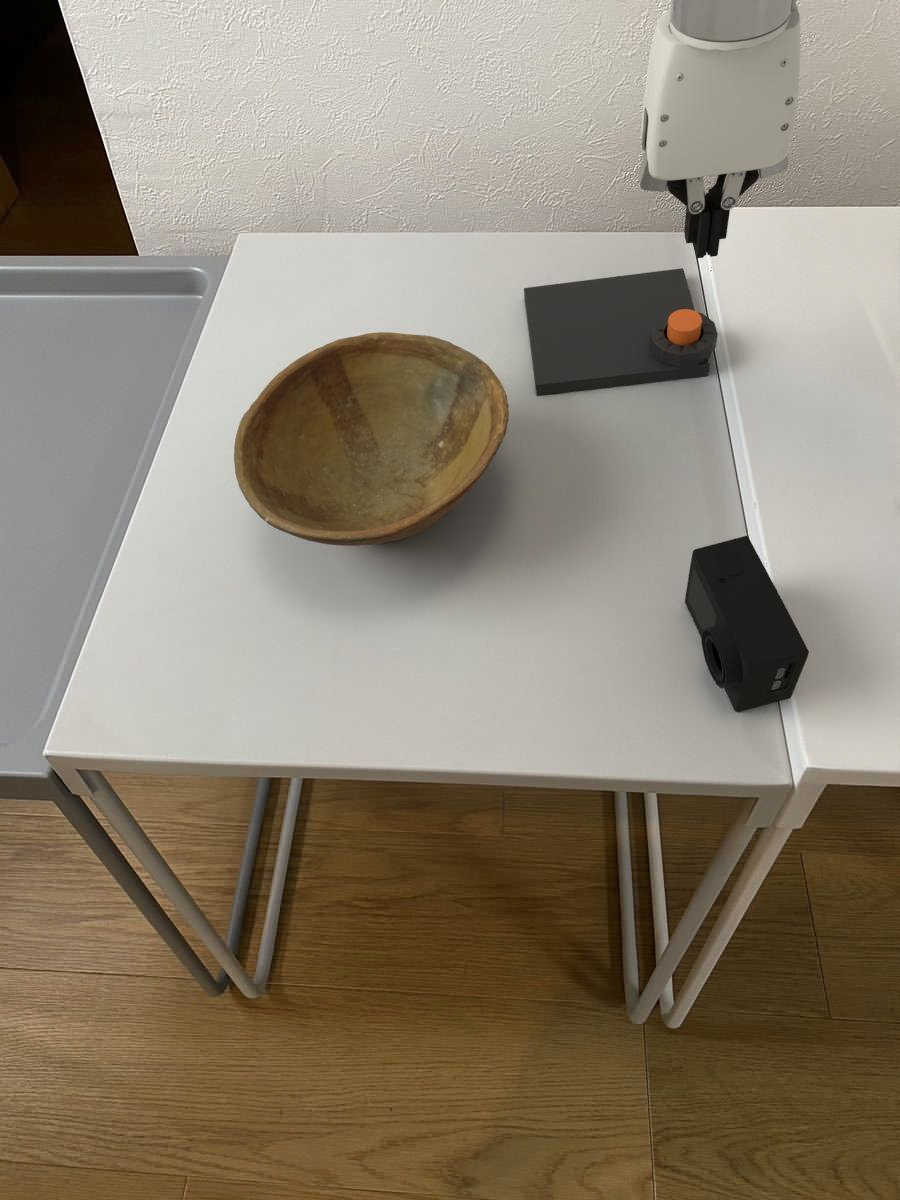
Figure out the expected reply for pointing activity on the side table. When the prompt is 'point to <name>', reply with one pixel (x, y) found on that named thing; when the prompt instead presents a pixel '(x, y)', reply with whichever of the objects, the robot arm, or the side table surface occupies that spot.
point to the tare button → (684, 327)
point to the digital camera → (743, 625)
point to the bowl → (369, 438)
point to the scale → (612, 332)
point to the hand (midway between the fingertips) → (703, 246)
